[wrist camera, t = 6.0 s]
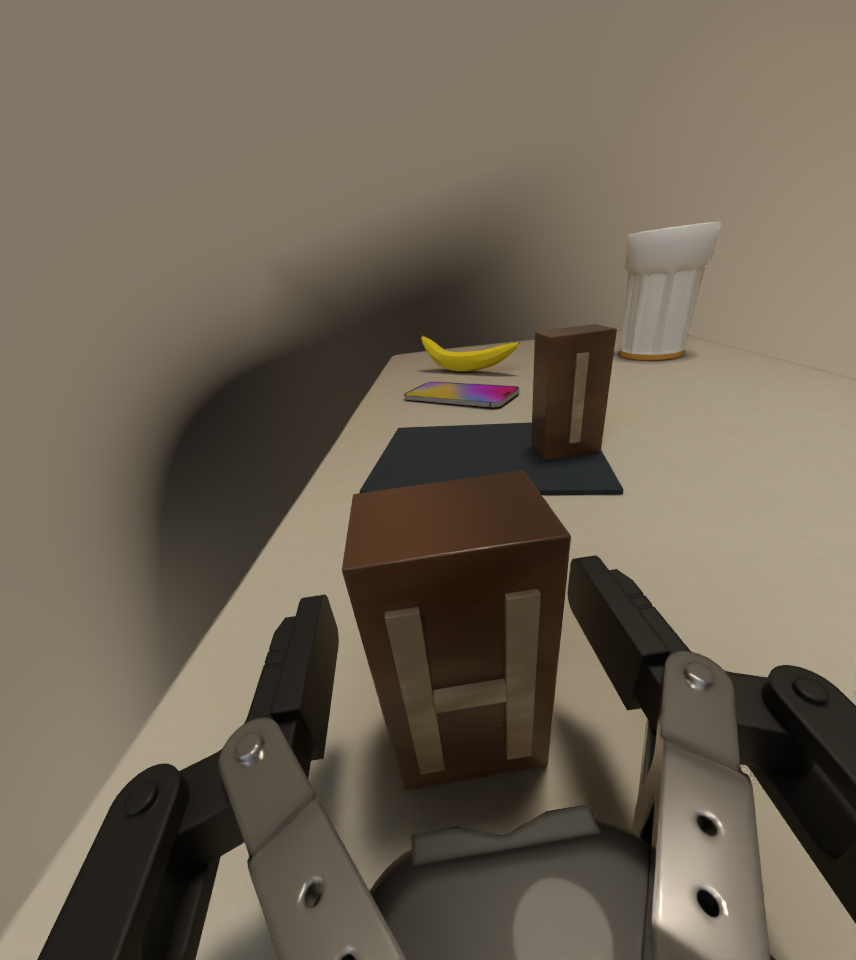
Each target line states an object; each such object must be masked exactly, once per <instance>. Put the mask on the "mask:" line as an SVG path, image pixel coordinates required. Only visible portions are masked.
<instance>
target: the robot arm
mask: <svg viewBox="0 0 856 960" xmlns="http://www.w3.org/2000/svg"><path fill="white" fill-rule="evenodd" d="M568 601H569V605H570V608H571V610H572V612H573V614H574V616H575V618H576V619H577V621H578V623H579V625H580V627H581V628H582V630H583V632H584V634H585V636H586V637H587V639H588V641H589V643H590V645H591V646H592V648H593V650H594V652H595V654H596V655H597V657H598V659H599V661H600V663H601V664H602V666H603V668H604V670H605V671H606V673H607V675H608V677H609V679H610V680H611V682H612V684H613V686H614V688H615V689H616V691H617V693H618V695H619V697H620V698H621V700H622V702H623V704H624V706H625V707H626V709H627V710H633V709H640V708H641V709H642V710H643V712H644V714H645V715H646V717H647V722H646V728H645V737H644V746H643V756H642V765H641V774H640V784H639V792H638V798H637V803H636V808H635V812H634V818H633V825H632V832H630V831H628V830H627V829H625V828H623V827H620V826H618V825H616V824H614V823H611V822H608V821H605V820H602V819H596V818H595V816H594V814H593V811H592V808H591V806H590V804H586V805H580V806H575V807H569V808H563V809H557V810H551V811H546V812H545V813H543V814H541V815H539V816H538V817H536V818H534V819H532V820H531V821H529V822H527V823H525V824H524V825H522V826H520V827H518V828H517V829H515V830H513V831H511V832H510V833H508V834H504V835H501V834H494V833H488V832H482V831H477V830H471V829H465V828H459V827H453V828H447V829H441V830H435V831H429V832H424V833H418V834H412V835H411V836H412V849H411V850H409V851H407V852H406V853H404V854H403V855H401V856H400V857H399V858H398V859H396V860H395V861H394V862H393V863H392V864H391V865H390V866H389V867H388V868H387V869H386V870H385V871H384V872H383V873H382V875H381V876H380V877H379V878H378V880H377V881H376V882H375V884H374V885H373V887H372V888H371V890H370V892H369V890H368V888H367V886H366V884H365V883H364V881H363V879H362V877H361V875H360V873H359V872H358V870H357V868H356V866H355V864H354V862H353V861H352V859H351V857H350V855H349V853H348V851H347V850H346V848H345V846H344V844H343V842H342V840H341V839H340V837H339V835H338V833H337V831H336V830H335V828H334V826H333V824H332V822H331V820H330V819H329V817H328V815H327V813H326V811H325V809H324V808H323V806H322V804H321V802H320V800H319V798H318V797H317V795H316V793H315V791H314V790H313V788H312V786H311V784H310V782H309V780H308V776H309V770H310V763H311V761H312V760H318V759H324V751H325V744H326V736H327V729H328V721H329V713H330V706H331V698H332V691H333V683H334V676H335V668H336V660H337V653H338V644H339V638H338V629H337V625H336V622H335V619H334V616H333V613H332V609H331V606H330V603H329V600H328V597H327V596H326V595H319V596H313V597H306V598H302V599H301V600H300V602H299V606H298V609H297V613H296V616H294V617H287V618H285V619H284V620H283V622H282V623H281V624H280V626H279V627H278V628H277V630H276V631H275V632H274V635H273V638H272V641H271V644H270V648H269V652H268V654H267V657H266V660H265V665H264V666H263V670H262V673H261V676H260V679H259V682H258V685H257V688H256V691H255V695H254V698H253V701H252V704H251V707H250V710H249V713H248V716H247V719H246V721H245V723H244V725H242V726H241V727H240V728H238V729H237V730H236V731H235V732H234V733H233V734H232V735H231V737H230V738H229V739H228V740H227V742H226V744H225V745H224V747H223V749H221V750H220V751H218V752H217V753H215V754H213V755H211V756H209V757H207V758H205V759H203V760H201V761H199V762H197V763H195V764H193V765H191V766H189V767H187V768H185V769H183V770H181V771H178V770H177V769H176V768H175V767H174V766H173V765H170V764H158V765H155V766H152V767H150V768H148V769H146V770H144V771H143V772H141V773H140V774H138V775H137V776H136V777H134V778H133V779H132V780H131V781H130V782H129V783H128V784H127V785H126V786H125V787H124V788H123V789H122V790H121V792H120V793H119V794H118V795H117V797H116V798H115V800H114V801H113V803H112V805H111V807H110V809H109V811H108V813H107V815H106V817H105V819H104V821H103V823H102V826H101V828H100V830H99V832H98V834H97V836H96V838H95V840H94V842H93V844H92V846H91V849H90V851H89V853H88V855H87V857H86V859H85V861H84V863H83V865H82V867H81V869H80V872H79V874H78V876H77V878H76V880H75V882H74V884H73V886H72V888H71V890H70V892H69V895H68V897H67V899H66V901H65V903H64V905H63V907H62V909H61V911H60V913H59V915H58V918H57V920H56V922H55V924H54V926H53V928H52V930H51V932H50V934H49V936H48V939H47V941H46V943H45V945H44V947H43V949H42V951H41V953H40V955H39V957H38V959H37V960H195V959H196V955H197V951H198V947H199V943H200V938H201V934H202V930H203V926H204V922H205V918H206V914H207V910H208V906H209V902H210V898H211V894H212V889H213V885H214V881H215V877H216V873H217V869H218V865H219V861H220V857H221V856H222V855H223V854H225V853H227V852H229V851H230V850H232V849H234V848H236V847H237V846H239V845H241V844H242V843H244V842H245V844H246V847H247V850H248V854H249V859H248V861H247V862H248V868H249V872H250V876H251V879H252V882H253V885H254V888H255V891H256V893H257V896H258V899H259V902H260V905H261V908H262V911H263V913H264V916H265V919H266V922H267V925H268V928H269V931H270V934H271V936H272V939H273V942H274V945H275V948H276V951H277V954H278V956H279V959H280V960H775V959H774V958H773V957H772V956H771V955H770V954H769V944H768V934H767V924H766V914H765V905H764V895H763V885H762V875H761V865H760V855H759V845H758V835H757V825H756V815H755V805H754V795H753V788H752V784H751V780H750V778H749V776H748V775H747V774H745V773H743V772H742V771H741V767H740V764H742V765H747V766H748V767H749V768H750V770H751V771H752V773H753V774H754V776H755V777H756V779H757V780H758V782H759V783H760V785H761V786H762V787H763V789H764V790H765V792H766V793H767V795H768V796H769V798H770V799H771V801H772V802H773V804H774V805H775V806H776V808H777V809H778V811H779V812H780V814H781V815H782V817H783V818H784V820H785V821H786V822H787V824H788V825H789V827H790V828H791V830H792V831H793V833H794V834H795V836H796V837H797V839H798V840H799V841H800V843H801V844H802V846H803V847H804V849H805V850H806V852H807V853H808V855H809V856H810V858H811V859H812V860H813V862H814V863H815V865H816V866H817V868H818V869H819V871H820V872H821V874H822V875H823V877H824V878H825V879H826V881H827V882H828V884H829V885H830V887H831V888H832V890H833V891H834V893H835V894H836V896H837V897H838V898H839V900H840V901H841V903H842V904H843V906H844V907H845V909H846V910H847V912H848V913H849V914H850V916H851V917H852V919H853V920H854V922H855V923H856V705H854V704H853V703H852V702H851V701H850V700H849V699H848V698H847V697H846V696H845V695H844V694H843V693H842V692H841V691H840V690H839V689H838V688H837V687H836V686H834V685H833V684H832V683H830V682H829V681H828V680H826V679H825V678H823V677H821V676H820V675H818V674H816V673H814V672H812V671H809V670H807V669H804V668H801V667H797V666H791V665H782V666H777V667H775V668H774V669H772V670H771V672H770V674H769V676H768V678H767V677H760V676H753V675H746V674H739V673H732V672H727V671H724V670H723V669H722V668H721V667H720V666H719V665H718V664H716V663H715V662H713V661H712V660H710V659H709V658H707V657H705V656H702V655H700V654H697V653H693V652H691V651H690V650H689V649H688V647H687V646H686V645H685V644H684V643H683V641H682V640H681V639H680V638H679V636H678V635H677V634H676V633H675V632H674V630H673V629H672V628H671V627H670V625H669V624H668V623H667V622H666V621H665V619H664V618H663V617H662V616H661V614H660V613H659V612H658V611H657V610H656V608H655V607H653V606H652V603H651V602H650V601H649V600H648V599H647V597H646V596H644V595H643V592H642V591H641V590H640V589H639V587H638V586H637V585H636V584H635V583H634V581H633V580H632V579H630V578H629V577H627V576H626V575H624V574H623V573H621V572H620V571H618V570H617V569H615V570H608V568H607V567H606V566H605V564H604V563H603V562H602V560H601V559H600V558H599V557H598V556H589V557H583V558H576V559H572V561H571V565H570V575H569V584H568Z"/></svg>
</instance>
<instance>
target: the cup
mask: <svg viewBox="0 0 856 960" xmlns="http://www.w3.org/2000/svg"><path fill="white" fill-rule="evenodd" d="M720 226H721V222H710V223H701V224H693V225H685V226H677V227H670V228H664V229H657V230H651V231H644V232H638V233H633V234H629V235H628V244H627V254H626V265H625V269H626V270H627V271H628V273H629V274H628V284H627V294H626V302H625V312H624V322H623V331H622V340H621V351H620V355H621V356H622V357H624V358H628V359H634V360H667V359H673V358H678V357H680V356H682V355H683V353H684V349H685V344H686V340H687V336H688V332H689V328H690V324H691V320H692V316H693V312H694V308H695V304H696V300H697V296H698V292H699V288H700V284H701V280H702V277H703V273H704V268H705V265H707V263H708V262H709V261H710V260H711V259H712V257H713V253H714V249H715V245H716V241H717V238H718V234H719V230H720Z"/></svg>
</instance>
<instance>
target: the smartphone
mask: <svg viewBox="0 0 856 960" xmlns="http://www.w3.org/2000/svg"><path fill="white" fill-rule="evenodd" d="M518 393H519V387H516V386H499V385H481V384H462V383H444V382H429V383H426V384H423V385H421V386H419V387H417V388H415V389H413V390H411V391H409V392H407V393H405V394H404V397H405V399H406V400H415V401H427V402H438V403H449V404H460V405H471V406H483V407H500V406H502V405H504V404H505V403H506V402H508V401H509V400H510V399H512V398H513V397H514V396H516V395H517V394H518Z"/></svg>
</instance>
